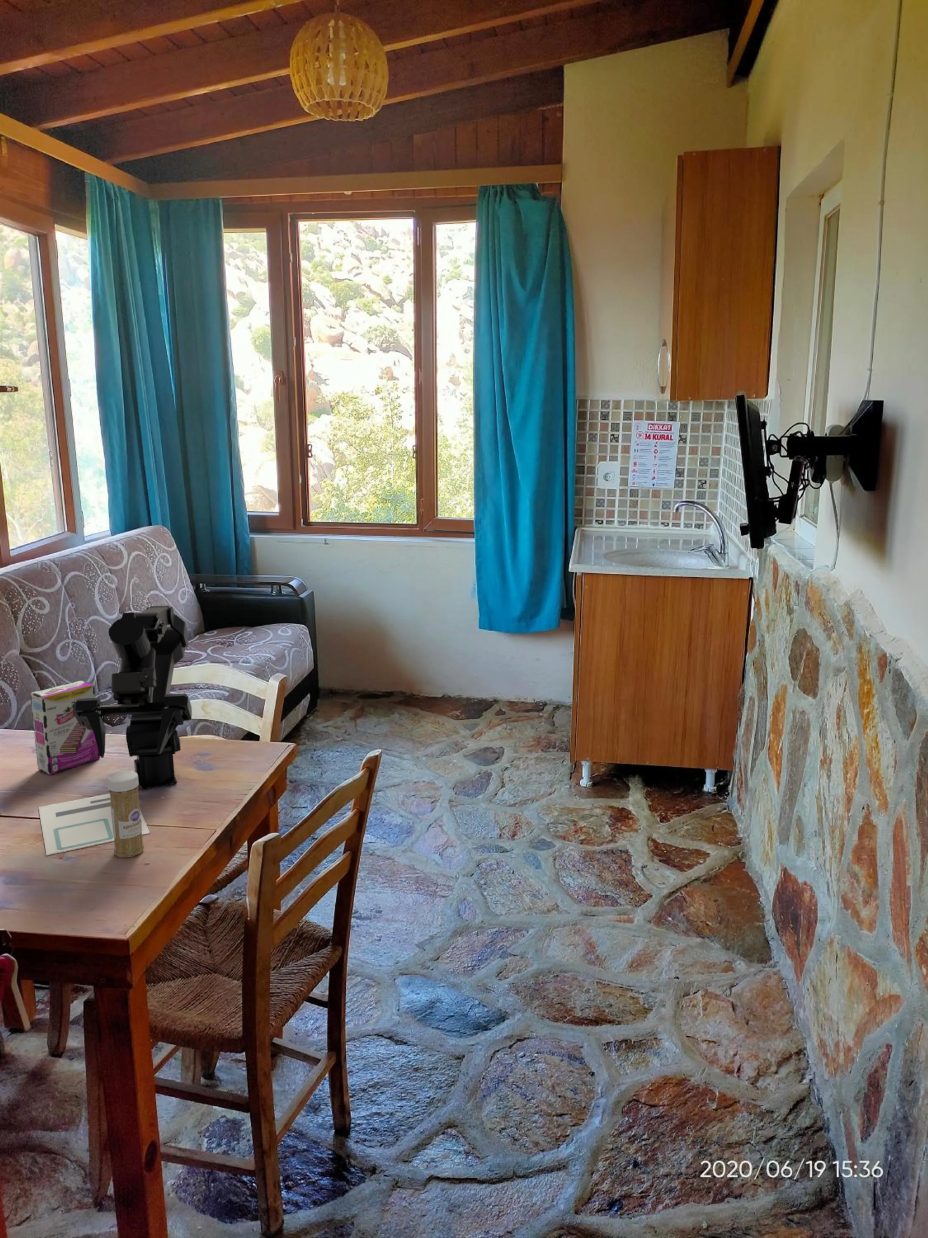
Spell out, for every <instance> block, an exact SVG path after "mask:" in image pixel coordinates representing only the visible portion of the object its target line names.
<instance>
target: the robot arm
mask: <svg viewBox="0 0 928 1238" xmlns="http://www.w3.org/2000/svg"><path fill="white" fill-rule="evenodd" d="M108 636H109V639H110V642H111V644H112V645H113V649H114V650H115V653H116V655H117V657H118V658H119V659H120V668H119V672H117V673H116V672H115V673H112V674H111V691H110V692H111V693H112V694H113V695H112V696H113V697H112V698H113V700H114V701H116V704H103V703H102V701H101V699H100V697H95V698H84V699H78V700H77V701H76V702H75V703H74V706H73V714H74V716H75V717H76V719H77V721H78V723H79V724H80V725H81V726H86V728H87V729H88V730H93V733H94V736H95V739H96V743H97V747H98V751H99V755H100V759H103V758H104V756H105V753H106V731H107V730H106V729H107V728H106V725H105V720H106V717H115V716H116V717H117V716H131V718H130V720H129V725H127V726H126V731H125V740H126V747H127V750H128V755H129V758H131V757H132V758H133V757H136V759H134V760H133V762H134V763H133V764H134V772H136V773H137V774H138V782H139V784H138V785H139V786H140V788H141V790H149V789H154V788H159V787H164V786H165V787H166V786H169V785H174V784H177V783H178V779H177V778H176V776H175V764H174V755H176V753H178V752H180V751H181V740H180V736H179V732H178V730H177V727H178V726H183V725H184V722H185V721H187V722H188V721H190V720H191V721H192V719H193V718H192V717H193V716H192V714H193V708H192V704H191V700H190V698H189V696H188V694H186V693H171V690H172V689H171V687H172V682H173V676H174V675H173V674H174V671H175V670H174V669H175V665H176V664H177V663H178V662H179V661H181V660H182V659H183V658H184V656H185V652H186V648H188V647H189V633H188V627H187V624H186V621H185V620H183V619H182V618H181V617H180V616H178V615H177V614H175V610H174V608H173V606H170V605H150V606H149V607H148V606H147V607H146V609H145V610H143V611H141V612H133V611H132V612H122V615H121V618H119V619H117V620H115V621H114V622H113V623H112V624H111V625H110V627H109V628H108Z"/></svg>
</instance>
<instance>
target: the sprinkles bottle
mask: <svg viewBox="0 0 928 1238" xmlns="http://www.w3.org/2000/svg"><path fill="white" fill-rule="evenodd" d="M139 785H140V784H139V782H138V774H137V773H136V772H135V770H134V771H133V770H122V771H121V770H120V771H116V772H114V773H111V774H110V775H109V776H108V777H107V789H108V791H109V794H110V800H111V816H112V826H113V836H114V840H115V841H114V848H115V849H114V854H115V856H117V857H118V858H132V857H136V856H137V855H140V854H141V853H142V852H143V851H144V849H145V846H144V844H143V835H142V823H141V813H142V812H141V813H140V811H141V807H140V805H141V804H140V798H139V797H140V796H139Z"/></svg>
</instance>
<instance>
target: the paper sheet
mask: <svg viewBox="0 0 928 1238" xmlns="http://www.w3.org/2000/svg"><path fill="white" fill-rule="evenodd" d="M38 811H39V818H40V823H41V830H42V836H43V842H44V848H45V855H46V856H47V857H48V856H52V855H56V854H61V853H64V852H65V853H66V852H70V851H75V850H79V849H84V848H89V847H94V846H98V845H104V844H107V843H112V842H115V840H114V836H113V826H112V816H111V800H110V793H105V794H100V795H95V796H90V797H84V798H79V799H74V800H69V801H64V802H57V803H51V804H48V805H43V806H42V805H41V806H38ZM140 813H141V823H142V836H146V835H149V834H151V833H150V830H149V828H148V825H147V823H146V820H145V818H144V816H143V813H142V811H141V810H140Z"/></svg>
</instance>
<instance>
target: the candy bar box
mask: <svg viewBox="0 0 928 1238" xmlns="http://www.w3.org/2000/svg"><path fill="white" fill-rule="evenodd" d="M95 689H96V688H95V684H93V683H91V682H87V681H84V680H78V681H74V682H70V683H67V684H66V683H65V684H62V685H58V686H54V687H49V688H45V689H41V690H38V691H37V690H36V691H33V692H30V703H31V712H32V713H31V714H32V722H33V730H34V731H33V732H34V743H35V745H34V746H35V751H36V752H35V754H36V762H37V763H36V765H37V769H38V770H39V772H43V773H45V774H46V775H48V776H51V775H52V776H53V775H54V774H57V773H61V772H64V771H67V770H70V769H73V768H75V767H79V766H82V765H85V764H88V763H91V762H94V761H96V760H100V759H101V757H100V755H99V751H98V747H97V743H96V739H95V736H94V733H93V730H88V729H87V728H86V726H81V725H80V724H79V723H78V721H77V719H76V717H75V716H74V714H73V706H74V703H75V702H76V701H77V700H78V699H84V698H96V692H95V691H96V690H95Z"/></svg>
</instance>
